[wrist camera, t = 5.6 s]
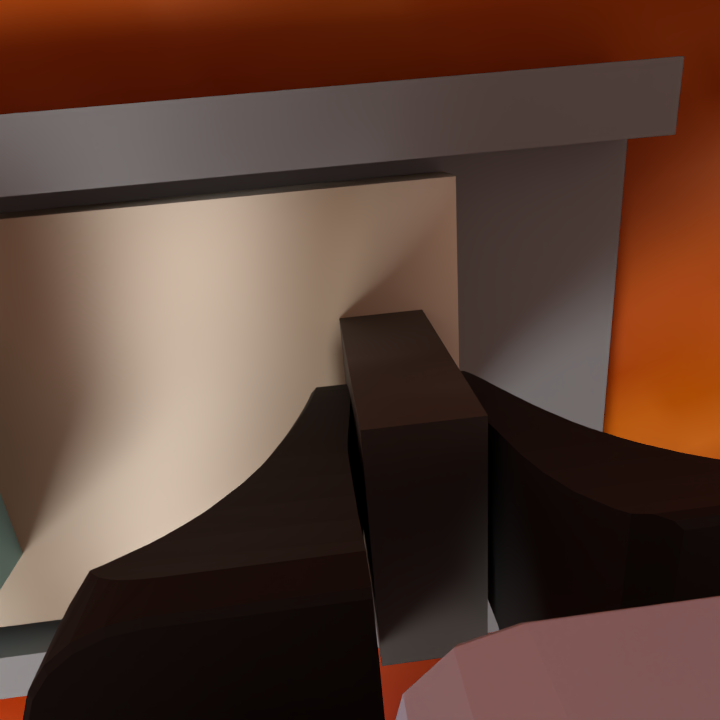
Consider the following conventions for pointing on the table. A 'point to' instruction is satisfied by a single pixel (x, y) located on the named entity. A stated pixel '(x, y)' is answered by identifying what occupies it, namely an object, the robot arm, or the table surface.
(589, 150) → the channel
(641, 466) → the robot arm
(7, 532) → the block
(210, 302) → the sliding plate with handle
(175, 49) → the table surface
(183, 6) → the table surface
